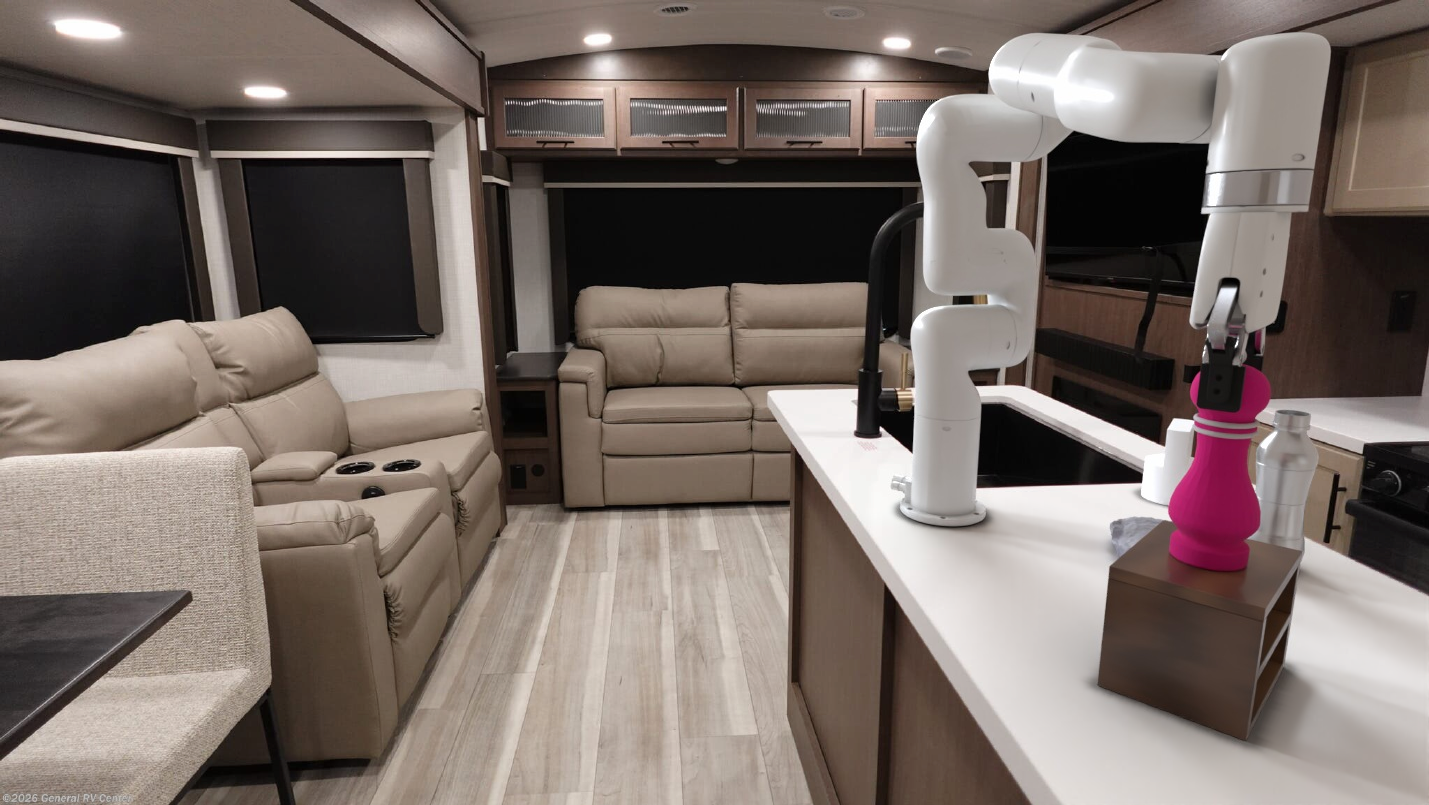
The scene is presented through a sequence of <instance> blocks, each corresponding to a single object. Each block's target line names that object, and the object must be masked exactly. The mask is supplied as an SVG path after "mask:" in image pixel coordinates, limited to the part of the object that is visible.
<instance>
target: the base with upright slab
mask: <svg viewBox="0 0 1429 805" xmlns="http://www.w3.org/2000/svg"><path fill="white" fill-rule="evenodd" d="M1194 421H1195V420H1194V419H1193V420H1192V419H1186V418H1185V419H1184V418H1172V421H1171V422H1170V423H1169V426H1168V427H1167V429H1166V436H1165V445H1164V453H1154V454H1149V455H1146V456H1145V457H1144V465H1143V474H1142V483H1141V490H1140V491H1141V492H1140V495H1141V496H1142V497H1143V498H1144V499H1146V500H1147V501H1149V502H1152V503H1156V504H1160V505H1162V506H1168V507H1169V503H1170V498H1171V496H1172V494H1173V492H1174V490H1175V488H1176V487H1177V485H1178V484H1179V483H1180V481H1181V480H1182V479H1183V477H1184V476H1185V474H1186V473H1187V472H1188V470H1189V468H1190V467H1191V464H1192V462H1193V460H1194V457H1193V456H1192V453H1193V452H1192V451H1193V442H1194V434H1195V430H1194V429H1193V428H1192V425H1193V424H1194Z"/></svg>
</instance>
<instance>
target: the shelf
mask: <svg viewBox="0 0 1429 805" xmlns="http://www.w3.org/2000/svg"><path fill="white" fill-rule="evenodd" d="M1162 520H1163V521H1162V522H1161V523H1159V524H1158V525H1157V526H1156V527H1155V528H1154V529H1152V530H1151V531H1150V532H1149V533H1148V534H1147V535H1145V536H1144V537H1143V538H1142V539H1141V540H1140V541H1138V542H1137V543H1136V544H1135V545H1134V546H1133V547H1131V548H1130V549H1129V550H1128V551H1127V552H1126V553H1124V554H1123V555H1122V556H1121V557H1120V558H1119V557H1118V558H1117V559H1116V560H1115V561H1114V562H1112V563H1111V564H1110V565H1109V566H1108V576H1107V577H1108V578H1107V585H1106V586H1107V588H1106V597H1105V607H1104V617H1103V626H1102V636H1101V644H1100V655H1099V666H1098V673H1097V674H1098V675H1097V683H1096V684H1097V686H1099V687H1101V688H1104V689H1107V690H1109V691H1111V692H1115V693H1117V694H1119V695H1122V696H1125V697H1128V698H1131V699H1133V700H1136V701H1138V702H1141V703H1144V704H1146V705H1148V706H1151V707H1155V708H1157V709H1160V710H1162V711H1165V712H1168V713H1170V714H1173V715H1175V716H1178V717H1180V718H1183V719H1186V720H1189V721H1191V722H1194V723H1196V724H1199V725H1202V726H1205V727H1208V728H1210V729H1213V730H1215V731H1219V732H1221V733H1223V734H1226V735H1229V736H1231V737H1235V738H1237V739H1239V740H1243V741H1247V739H1248V737H1249V735H1250V733H1251V732H1252V730H1253V727H1254V726H1255V724H1256V721H1257V720H1258V718H1259V716H1260V714H1261V712H1262V710H1263V709H1264V706H1265V704H1266V702H1267V701H1268V698H1269V696H1270V695H1271V693H1272V691H1273V689H1274V687H1275V686H1276V683H1277V681H1278V679H1279V678H1280V675H1281V674H1282V671H1283V669H1284V668H1285V663H1286V657H1287V651H1288V644H1289V639H1290V633H1291V626H1292V619H1293V613H1294V608H1295V607H1294V606H1295V601H1296V594H1297V590H1298V589H1297V588H1298V583H1299V575H1300V570H1301V564H1302V561H1301V557H1302V551H1300V550H1295V549H1291V548H1286V547H1282V546H1277V545H1273V544H1269V543H1264V542H1260V541H1255V540H1251V539H1246V540H1244V541H1245V542H1246V543H1247V544H1248V545H1249V547H1250V552H1249V559H1248V565H1247V566H1246V567H1245V568H1244V569H1241V570H1238V571H1214V570H1208V569H1203V568H1199V567H1195V566H1192V565H1189V564H1186V563H1183V562H1181V561H1179V560H1178V559H1176V558H1175V557H1173V556H1172V554H1171V553H1170V551H1169V547H1170V539H1171V534H1172V533H1173V532H1174V531H1176V530H1178V528H1177V527H1176V526H1175V524H1174V523H1173V522H1170V521H1171V520H1168V521H1166V520H1167V519H1162Z"/></svg>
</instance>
